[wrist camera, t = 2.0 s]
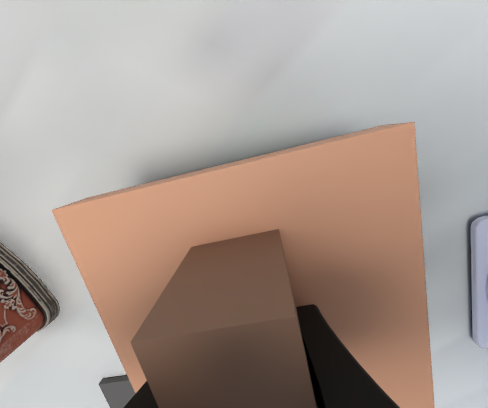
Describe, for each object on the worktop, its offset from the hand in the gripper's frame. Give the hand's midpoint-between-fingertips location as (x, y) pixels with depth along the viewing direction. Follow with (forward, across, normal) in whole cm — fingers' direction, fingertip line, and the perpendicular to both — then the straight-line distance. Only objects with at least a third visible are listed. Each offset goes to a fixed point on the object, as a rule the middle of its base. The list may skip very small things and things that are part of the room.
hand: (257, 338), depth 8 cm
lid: (+1, 0, 0) cm, 1 cm away
